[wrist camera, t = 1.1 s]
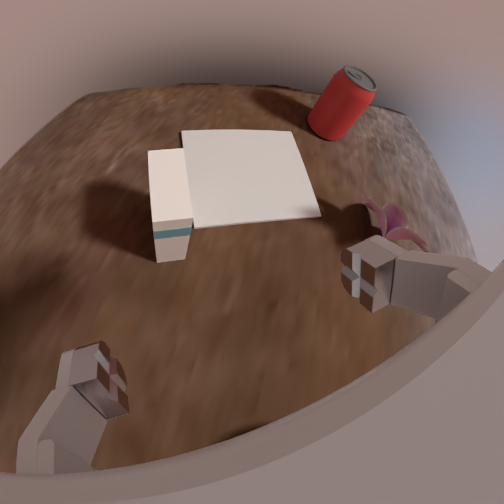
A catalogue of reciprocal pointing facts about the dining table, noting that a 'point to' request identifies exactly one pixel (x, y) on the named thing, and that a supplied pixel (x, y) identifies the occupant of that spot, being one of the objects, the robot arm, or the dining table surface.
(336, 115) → the beer can
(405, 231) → the lily
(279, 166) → the mat
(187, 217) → the card box
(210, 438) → the dining table surface
